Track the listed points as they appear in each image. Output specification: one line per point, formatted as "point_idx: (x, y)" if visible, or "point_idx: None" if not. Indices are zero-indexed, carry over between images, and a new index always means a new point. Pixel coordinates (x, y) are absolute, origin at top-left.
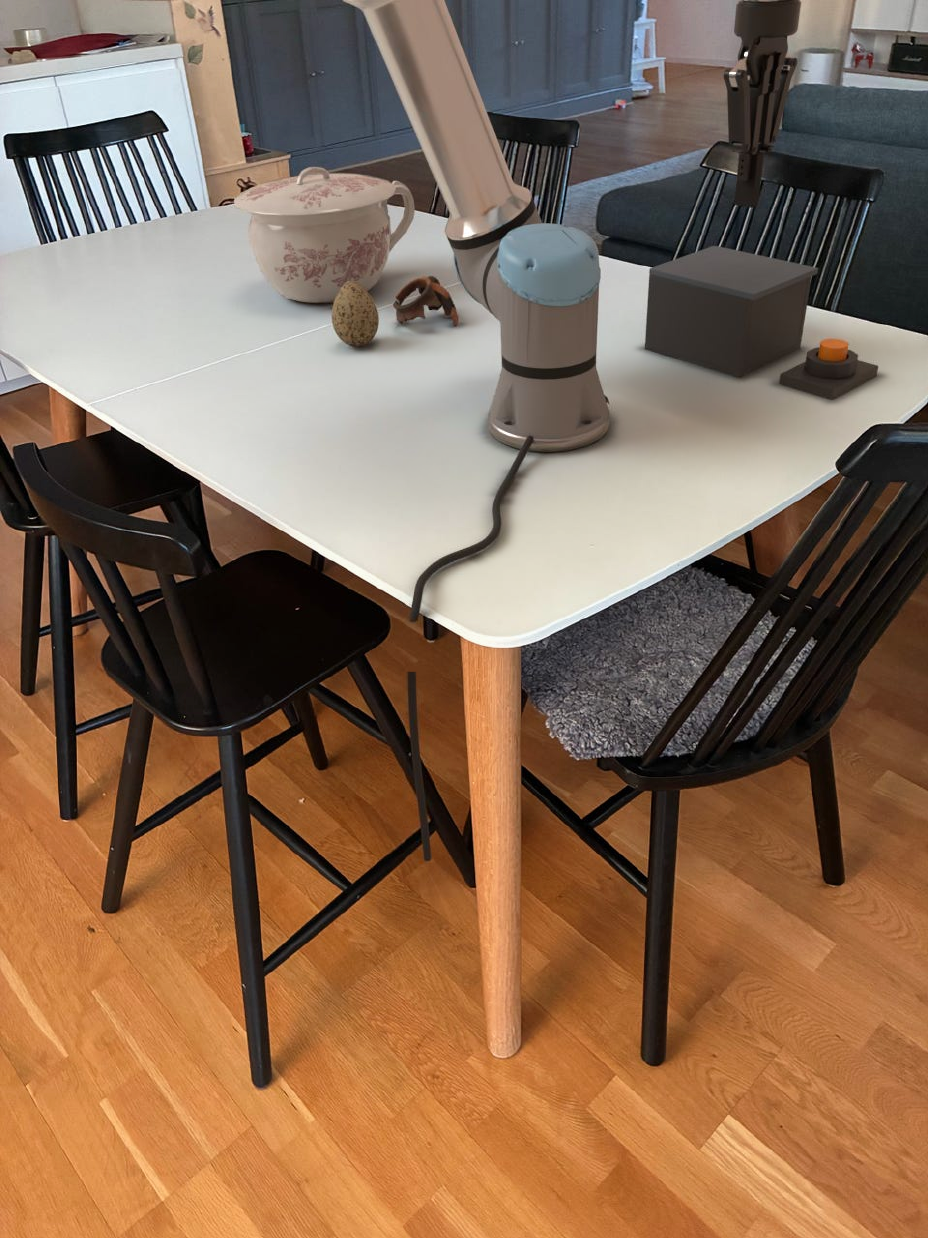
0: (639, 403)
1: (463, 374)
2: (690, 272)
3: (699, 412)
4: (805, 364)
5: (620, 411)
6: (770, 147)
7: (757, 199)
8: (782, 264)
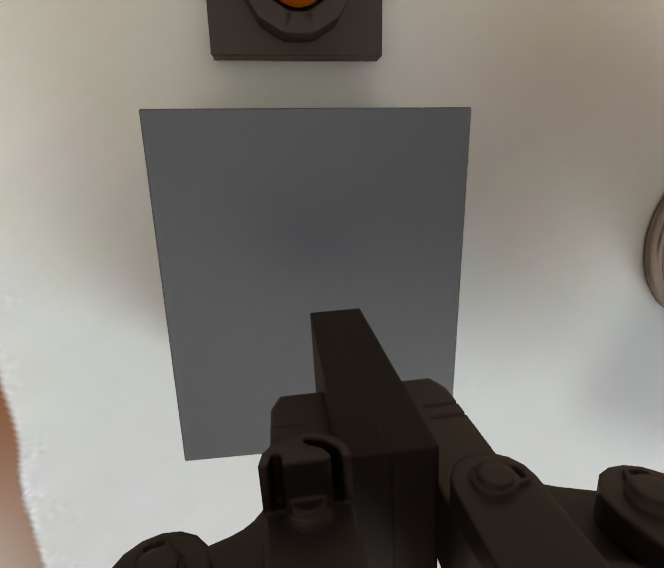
0: (587, 196)
1: (636, 453)
2: (417, 349)
3: (564, 95)
4: (336, 22)
5: (628, 197)
6: (320, 451)
7: (323, 320)
8: (191, 216)
